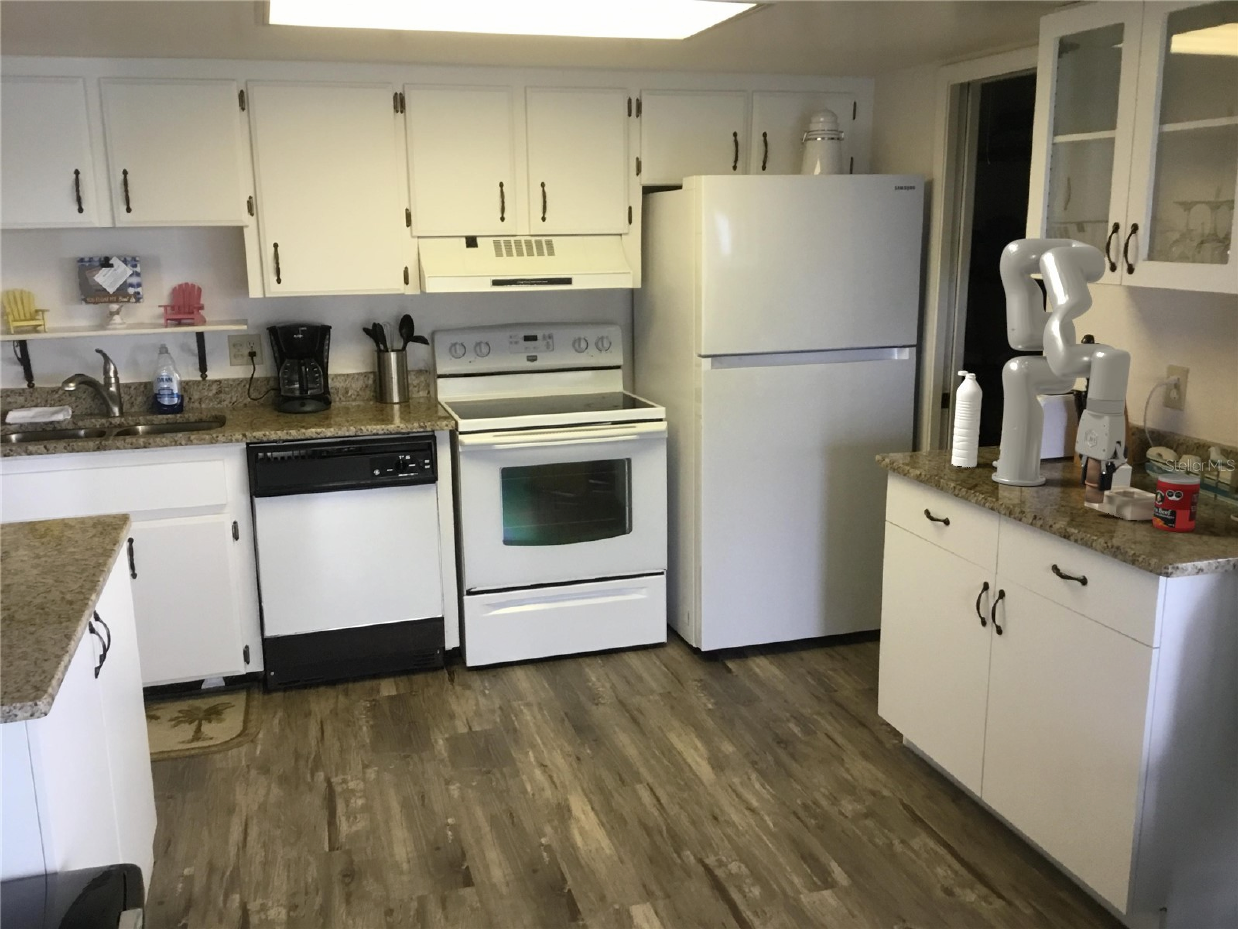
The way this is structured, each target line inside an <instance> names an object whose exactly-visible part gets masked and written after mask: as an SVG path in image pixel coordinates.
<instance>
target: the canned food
mask: <svg viewBox="0 0 1238 929" xmlns="http://www.w3.org/2000/svg"><path fill="white" fill-rule="evenodd" d="M1200 487H1201V479H1200V477H1197V476H1194V475H1189V474H1185V473H1183V474H1182V473H1162V474H1159V475H1158V476H1157V480H1156V489H1155V495H1156V496H1155V505H1154V514H1153V519H1152V525H1153V527H1155V528H1156V527H1157V528H1156V529H1158V528H1159V530H1161V529H1162V530H1163V531H1167V532H1172V531H1173V533H1187V532H1188V533H1189V532H1192V531H1193V530H1194V528H1195V525H1196V520H1197V510H1198V504H1199V497H1200V496H1199V494H1200V489H1201V488H1200ZM1162 530H1161V531H1162Z"/></svg>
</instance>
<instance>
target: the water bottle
mask: <svg viewBox="0 0 1238 929" xmlns="http://www.w3.org/2000/svg"><path fill="white" fill-rule="evenodd" d="M957 375H958V376H964V377H965V379H964V380H963V381H962V383H961V384H960V386H959V387H958V388H957V390H956V401H955V411H954V412H955V413H954V414H955V416H954V423H953V425H954V427H953V438H952V439H953V441H952V454H951V455H952V456H951V465H952V464H953V465H952V466H954V467H957V466H962V467H961V468H967V467H968V468H967V469H969V467H970V468H975V467H977V464H978V449H979V435H980V425H981V411H982V410H981V409H982V398H983V390H982V388H981V386H980V385H979V383H978V382H977V380H976V378H977V376H976V374H975V373H969V371H966V370H960V371H959V370H958V372H957Z"/></svg>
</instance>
